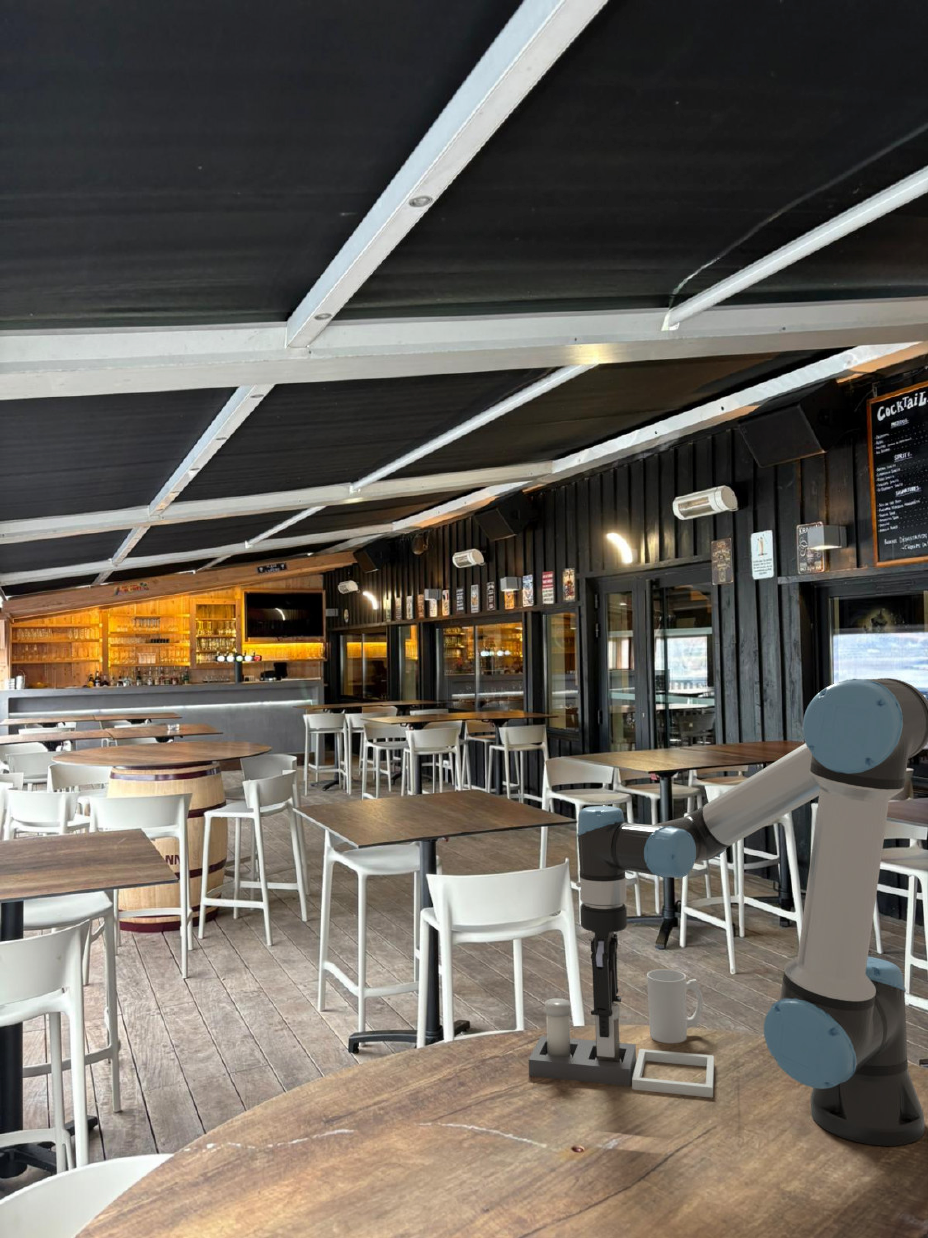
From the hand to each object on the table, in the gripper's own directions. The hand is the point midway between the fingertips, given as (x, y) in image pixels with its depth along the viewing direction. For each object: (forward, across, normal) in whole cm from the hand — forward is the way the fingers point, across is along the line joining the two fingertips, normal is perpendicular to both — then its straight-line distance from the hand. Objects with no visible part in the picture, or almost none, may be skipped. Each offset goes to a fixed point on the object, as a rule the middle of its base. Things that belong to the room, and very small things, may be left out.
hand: (607, 1049), depth 149 cm
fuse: (+3, 0, -8) cm, 9 cm away
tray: (+5, 0, +10) cm, 11 cm away
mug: (+5, -17, +10) cm, 20 cm away
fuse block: (+5, 0, -4) cm, 6 cm away
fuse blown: (+3, 0, 0) cm, 3 cm away
